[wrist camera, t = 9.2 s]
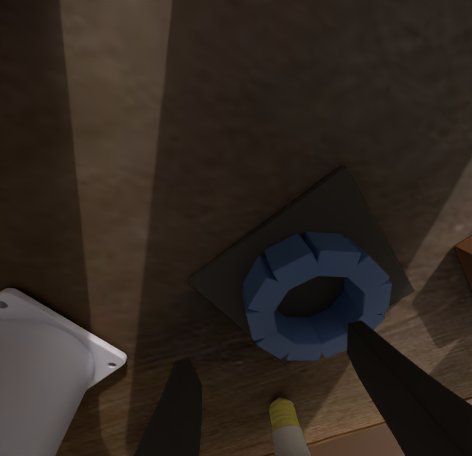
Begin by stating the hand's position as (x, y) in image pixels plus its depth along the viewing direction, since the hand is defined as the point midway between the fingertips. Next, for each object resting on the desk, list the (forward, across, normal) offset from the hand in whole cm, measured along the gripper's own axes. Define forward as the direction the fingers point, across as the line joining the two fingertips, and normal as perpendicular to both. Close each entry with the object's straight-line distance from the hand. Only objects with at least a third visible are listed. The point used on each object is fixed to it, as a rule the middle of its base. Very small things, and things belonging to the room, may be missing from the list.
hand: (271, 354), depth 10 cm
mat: (+4, -3, 0) cm, 5 cm away
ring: (+4, -3, 0) cm, 5 cm away
